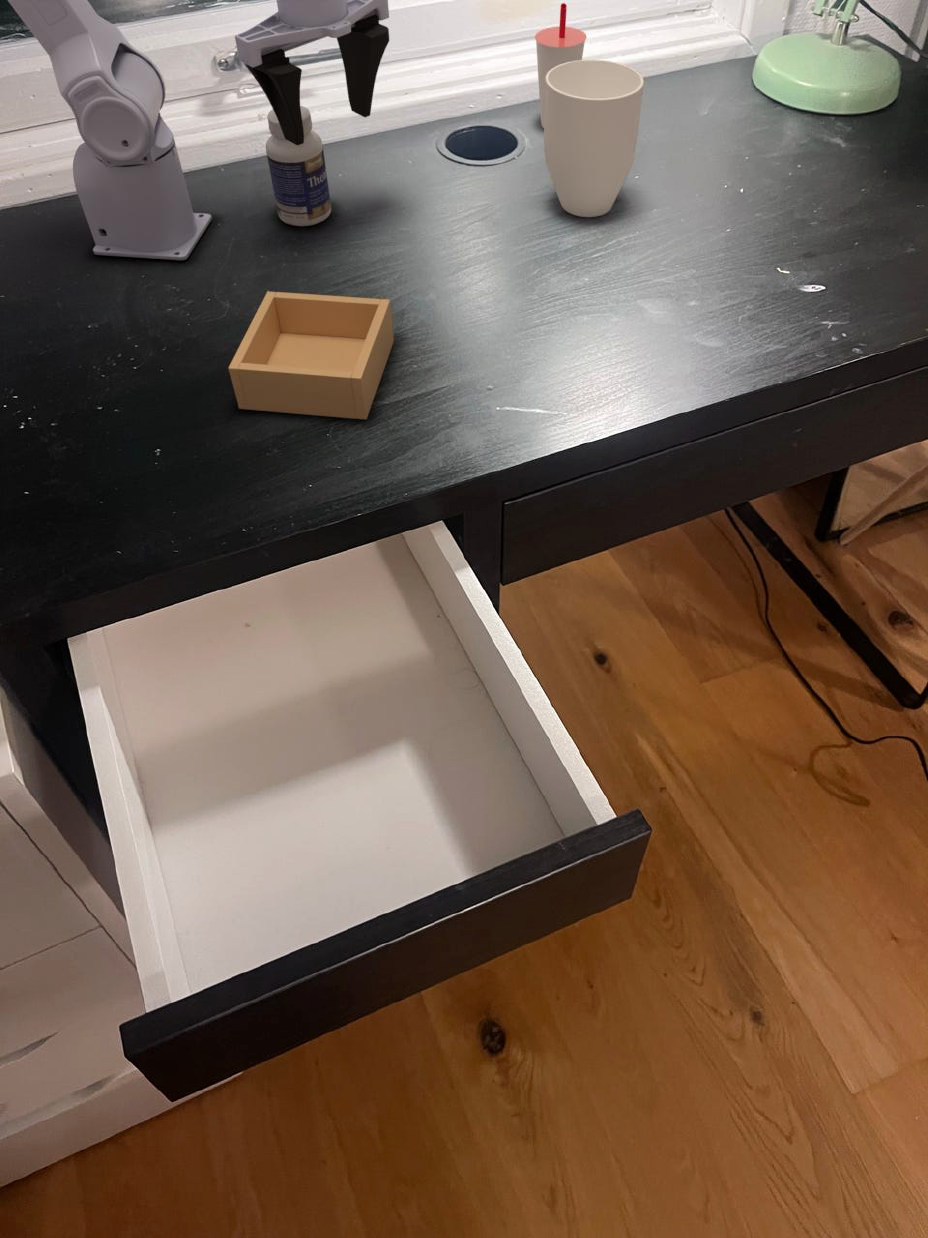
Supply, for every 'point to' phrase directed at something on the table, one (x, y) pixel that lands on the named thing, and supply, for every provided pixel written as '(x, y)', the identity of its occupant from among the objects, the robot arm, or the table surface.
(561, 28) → the cup
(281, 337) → the desk tray
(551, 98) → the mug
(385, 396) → the table surface
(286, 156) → the pill bottle
